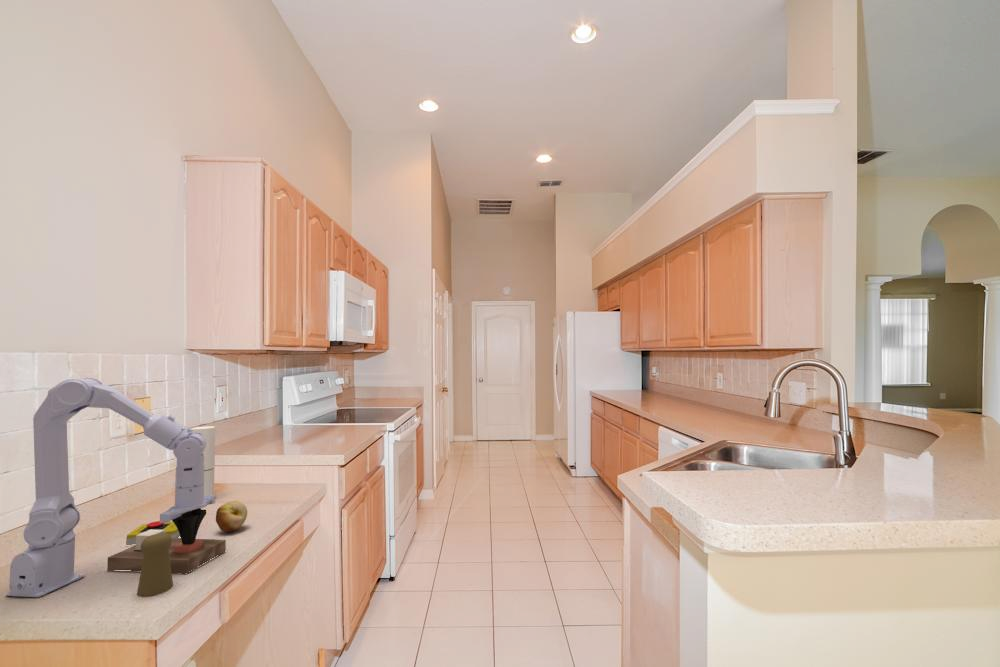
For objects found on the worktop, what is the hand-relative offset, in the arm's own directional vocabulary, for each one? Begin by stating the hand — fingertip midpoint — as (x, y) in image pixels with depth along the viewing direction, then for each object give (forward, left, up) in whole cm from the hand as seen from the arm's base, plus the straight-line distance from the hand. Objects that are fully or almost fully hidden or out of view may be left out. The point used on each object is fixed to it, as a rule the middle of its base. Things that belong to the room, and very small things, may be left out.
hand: (188, 543), depth 109 cm
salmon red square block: (0, 0, -3) cm, 3 cm away
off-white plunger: (0, +10, -1) cm, 10 cm away
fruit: (+20, +4, -4) cm, 21 cm away
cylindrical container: (+46, +35, -4) cm, 58 cm away
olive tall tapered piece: (-13, -4, -4) cm, 14 cm away
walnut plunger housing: (0, +5, -4) cm, 7 cm away
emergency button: (+14, +21, -5) cm, 25 cm away
